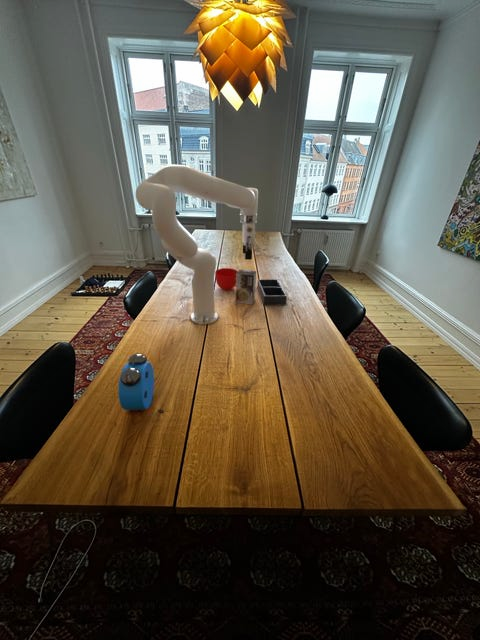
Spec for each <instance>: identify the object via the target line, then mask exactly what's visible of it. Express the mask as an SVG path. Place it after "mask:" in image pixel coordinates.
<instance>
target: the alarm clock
mask: <svg viewBox="0 0 480 640" xmlns="http://www.w3.org/2000/svg"><path fill="white" fill-rule="evenodd" d="M119 375H120V376H119V381H118V401H119V405H120V406H121V408H122V409H123V410H124V411H130V413H131V412H133V411H140V410H142V411H143V410H148V409H149V407H150V406H151V404H152V401H153V397H154V390H155V372H154V367H153V364H152V363H151V362H150V361H148V357H147V356H146V355H145V354H143V353H139V352H137V353H134V354H131V355H130V356H129V358H128V361H127V363H125V364H124V366H123V367H122V370H121V372H120V374H119Z"/></svg>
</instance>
